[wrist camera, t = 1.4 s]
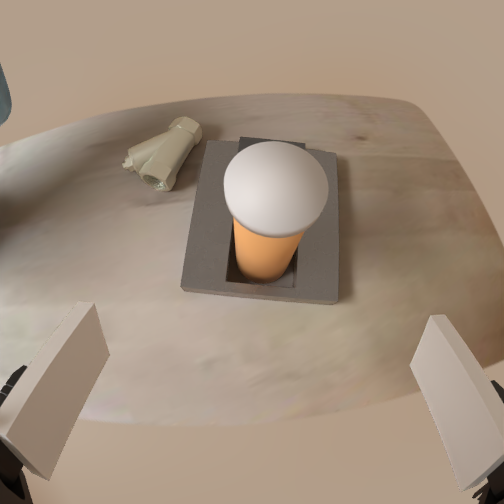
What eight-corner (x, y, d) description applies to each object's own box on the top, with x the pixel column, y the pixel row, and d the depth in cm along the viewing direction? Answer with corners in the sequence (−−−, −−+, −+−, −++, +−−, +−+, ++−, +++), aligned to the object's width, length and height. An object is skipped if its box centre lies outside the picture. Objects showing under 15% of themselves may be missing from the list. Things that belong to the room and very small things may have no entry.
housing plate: (184, 291, 29) (180, 286, 27) (209, 150, 34) (207, 140, 32) (332, 304, 29) (337, 301, 27) (331, 163, 34) (336, 153, 32)
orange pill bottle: (228, 284, 29) (216, 225, 16) (235, 227, 31) (230, 137, 18) (290, 290, 29) (328, 236, 16) (293, 233, 31) (327, 147, 18)
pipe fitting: (124, 181, 33) (172, 195, 32) (111, 162, 30) (161, 175, 28) (157, 130, 36) (204, 140, 35) (148, 109, 32) (198, 117, 31)
